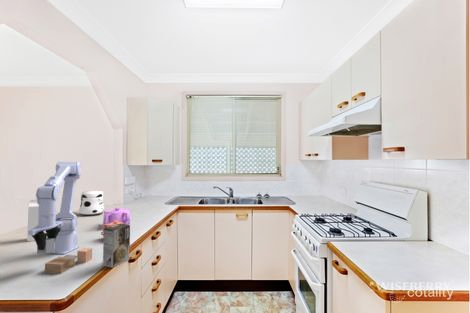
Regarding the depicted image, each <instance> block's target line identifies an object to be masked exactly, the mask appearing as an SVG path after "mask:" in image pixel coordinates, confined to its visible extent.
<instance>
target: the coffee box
mask: <svg viewBox="0 0 470 313" xmlns="http://www.w3.org/2000/svg"><path fill="white" fill-rule="evenodd" d="M103 234H104V237H103V244H102V246H103V247H102V248H103V249H102V250H103V251H102V266H105V267H108V268H111V269H113V268H116V267H118V266H120V265H122V264H124V263H126V262H128V261H130V253H131V252H130V244H131V241H130V240H131V239H130V238H131V224H129V225H126V224H122V223H120V224H116V225H113V226H110V227H106V228H105V227H104V233H103Z"/></svg>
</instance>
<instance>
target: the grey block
mask: <svg viewBox="0 0 470 313" xmlns="http://www.w3.org/2000/svg"><path fill="white" fill-rule="evenodd" d="M36 248H37V250H36V254H41V255H44V254H46V255H47V254H50V252H51V251H54V249H55V238H47V237H46V241H45V248H44V250H38V247H37V246H36Z"/></svg>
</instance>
